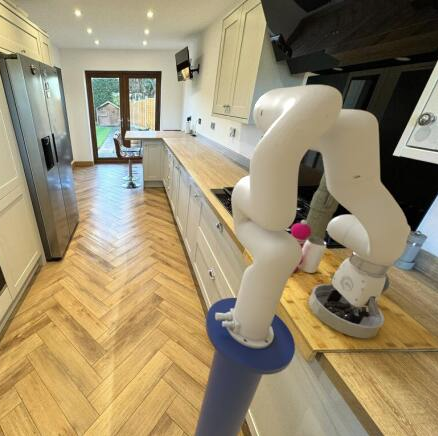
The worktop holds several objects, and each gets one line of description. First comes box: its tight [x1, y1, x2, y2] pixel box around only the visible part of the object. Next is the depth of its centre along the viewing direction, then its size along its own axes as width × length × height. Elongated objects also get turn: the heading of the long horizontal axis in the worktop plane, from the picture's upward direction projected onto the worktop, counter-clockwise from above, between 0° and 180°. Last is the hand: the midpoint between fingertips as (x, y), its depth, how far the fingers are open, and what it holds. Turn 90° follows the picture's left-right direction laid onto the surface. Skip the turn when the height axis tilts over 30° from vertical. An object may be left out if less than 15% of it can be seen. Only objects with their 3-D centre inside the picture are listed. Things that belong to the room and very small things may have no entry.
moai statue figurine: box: [302, 171, 340, 248], centre depth 96 cm, size 9×12×35 cm
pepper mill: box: [290, 219, 311, 274], centre depth 84 cm, size 7×7×20 cm
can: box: [298, 237, 327, 274], centre depth 86 cm, size 6×6×12 cm
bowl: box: [307, 283, 385, 339], centre depth 68 cm, size 16×16×4 cm
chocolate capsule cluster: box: [324, 301, 354, 321], centre depth 68 cm, size 9×7×2 cm
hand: (341, 312), depth 68 cm, fingers closed on chocolate capsule cluster, 7 cm apart
